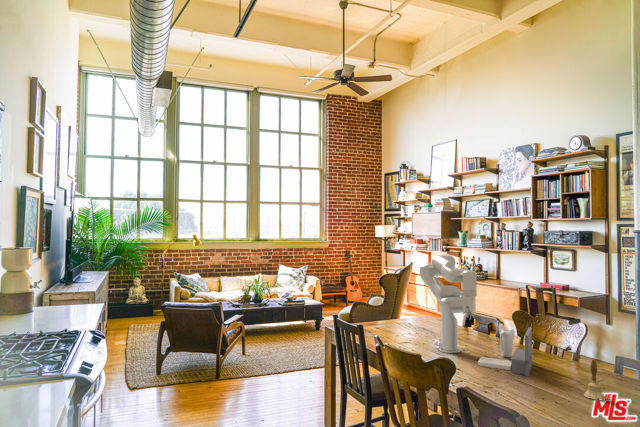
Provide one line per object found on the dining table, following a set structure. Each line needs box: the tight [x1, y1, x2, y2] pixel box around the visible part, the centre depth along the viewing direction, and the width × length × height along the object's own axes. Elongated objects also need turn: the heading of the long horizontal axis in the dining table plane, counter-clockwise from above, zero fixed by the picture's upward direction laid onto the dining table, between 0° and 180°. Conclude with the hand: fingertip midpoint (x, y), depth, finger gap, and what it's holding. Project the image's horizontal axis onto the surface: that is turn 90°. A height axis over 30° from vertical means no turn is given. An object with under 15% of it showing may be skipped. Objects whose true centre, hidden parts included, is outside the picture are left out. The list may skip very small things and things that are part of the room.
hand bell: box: [583, 359, 606, 400], centre depth 185 cm, size 8×8×16 cm
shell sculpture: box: [498, 323, 516, 358], centre depth 244 cm, size 8×8×18 cm
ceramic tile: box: [477, 356, 512, 371], centre depth 228 cm, size 16×10×2 cm, turn 60°
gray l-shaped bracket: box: [510, 326, 533, 378], centre depth 222 cm, size 8×21×20 cm, turn 149°
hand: (469, 325), depth 236 cm, fingers open, 5 cm apart
